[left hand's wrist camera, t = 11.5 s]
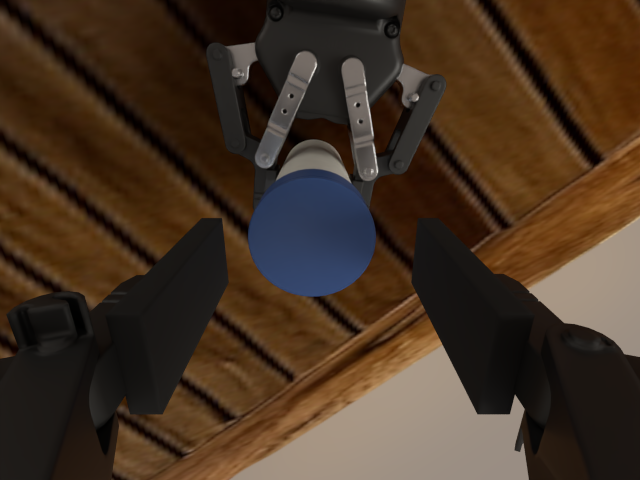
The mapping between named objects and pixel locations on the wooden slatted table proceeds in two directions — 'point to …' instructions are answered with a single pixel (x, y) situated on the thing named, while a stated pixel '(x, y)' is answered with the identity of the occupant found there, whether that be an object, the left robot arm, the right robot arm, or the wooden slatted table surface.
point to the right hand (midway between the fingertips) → (309, 225)
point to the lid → (311, 233)
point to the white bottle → (313, 159)
